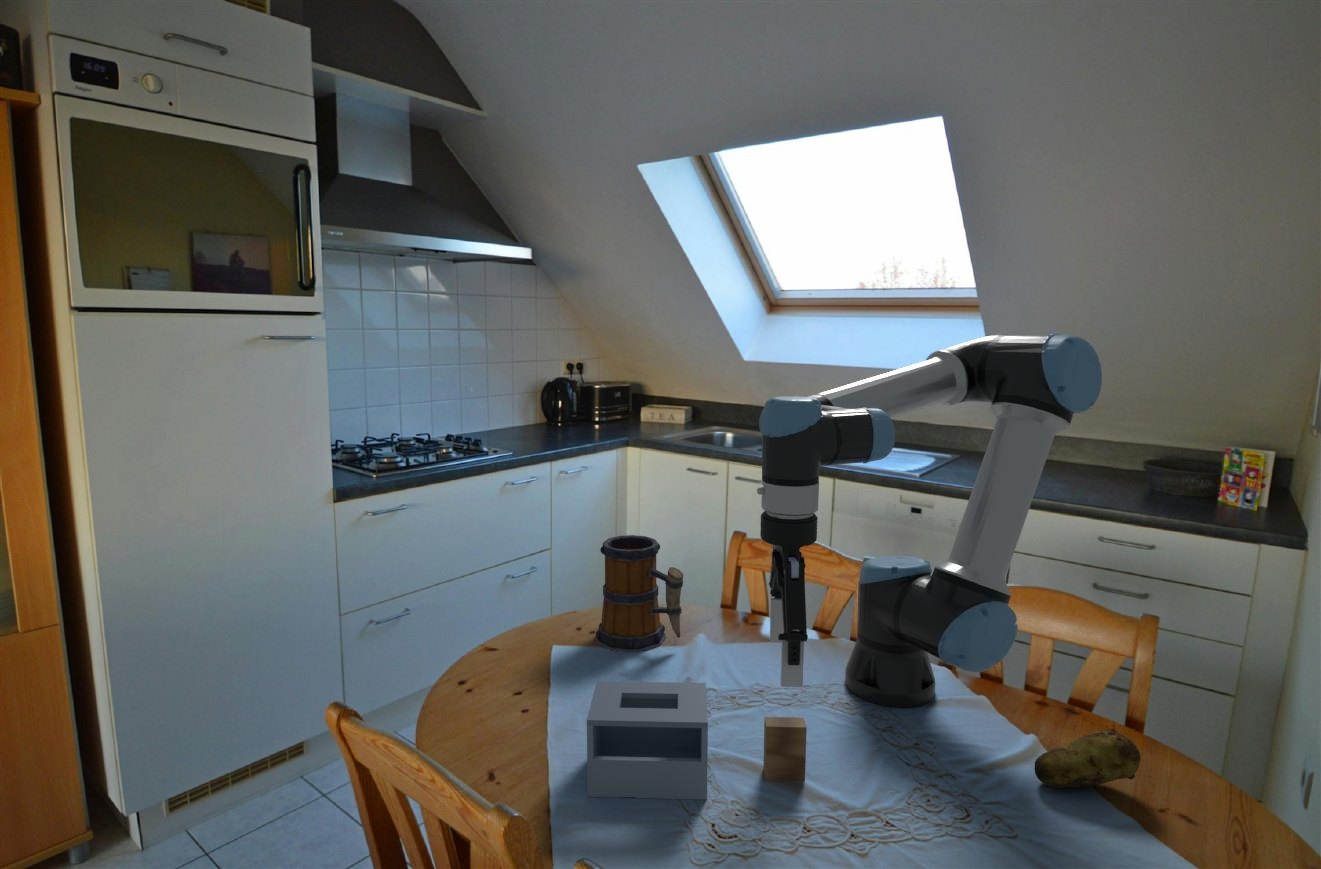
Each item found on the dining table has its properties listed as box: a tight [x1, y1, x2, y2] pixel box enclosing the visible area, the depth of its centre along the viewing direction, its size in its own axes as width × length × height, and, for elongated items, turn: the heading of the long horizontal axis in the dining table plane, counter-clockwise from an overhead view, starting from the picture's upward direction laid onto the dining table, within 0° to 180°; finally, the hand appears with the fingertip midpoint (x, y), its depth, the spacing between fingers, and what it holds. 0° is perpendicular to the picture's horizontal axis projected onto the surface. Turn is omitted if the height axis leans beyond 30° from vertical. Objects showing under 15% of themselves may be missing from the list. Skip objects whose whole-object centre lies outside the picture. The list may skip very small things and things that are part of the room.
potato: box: [1034, 729, 1142, 789], centre depth 101 cm, size 8×13×8 cm, turn 69°
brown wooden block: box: [762, 716, 807, 782], centre depth 103 cm, size 6×3×8 cm, turn 88°
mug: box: [595, 534, 684, 654], centre depth 148 cm, size 19×14×20 cm
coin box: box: [586, 680, 709, 800], centre depth 103 cm, size 16×11×11 cm
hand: (785, 662), depth 102 cm, fingers open, 13 cm apart
